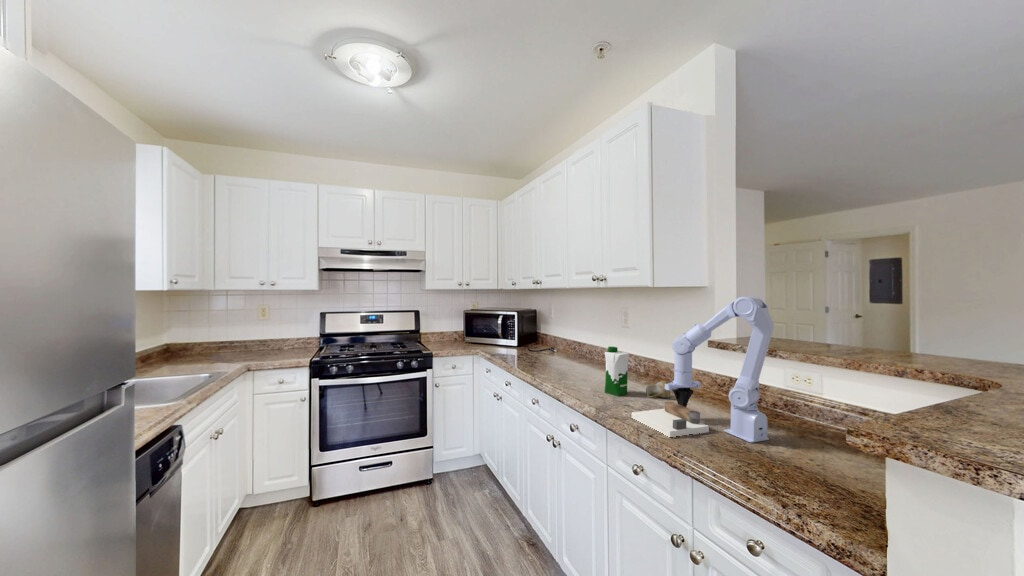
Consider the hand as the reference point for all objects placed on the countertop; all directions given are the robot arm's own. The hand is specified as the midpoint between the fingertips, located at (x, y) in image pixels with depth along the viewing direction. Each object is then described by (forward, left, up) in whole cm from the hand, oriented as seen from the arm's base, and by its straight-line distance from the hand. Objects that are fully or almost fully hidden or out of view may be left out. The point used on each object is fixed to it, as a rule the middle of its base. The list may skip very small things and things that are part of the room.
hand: (682, 408), depth 130 cm
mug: (+24, -11, -4) cm, 26 cm away
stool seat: (-4, +10, -3) cm, 11 cm away
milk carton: (+33, +4, -3) cm, 33 cm away
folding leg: (-4, +4, -1) cm, 6 cm away
